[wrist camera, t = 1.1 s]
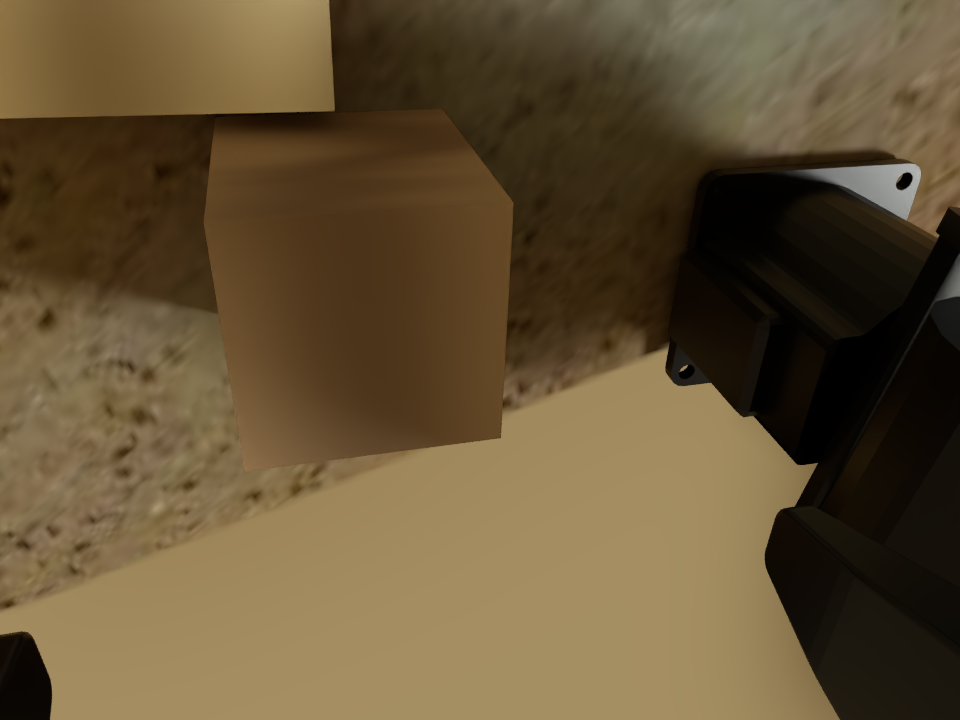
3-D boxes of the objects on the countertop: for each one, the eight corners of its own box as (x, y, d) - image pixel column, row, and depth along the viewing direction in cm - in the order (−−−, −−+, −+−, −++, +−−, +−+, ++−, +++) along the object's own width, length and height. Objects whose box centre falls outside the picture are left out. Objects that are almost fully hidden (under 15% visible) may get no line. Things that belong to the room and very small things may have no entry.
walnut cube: (442, 107, 18) (513, 202, 13) (441, 300, 21) (500, 437, 16) (215, 115, 17) (203, 222, 12) (244, 317, 20) (244, 471, 15)
